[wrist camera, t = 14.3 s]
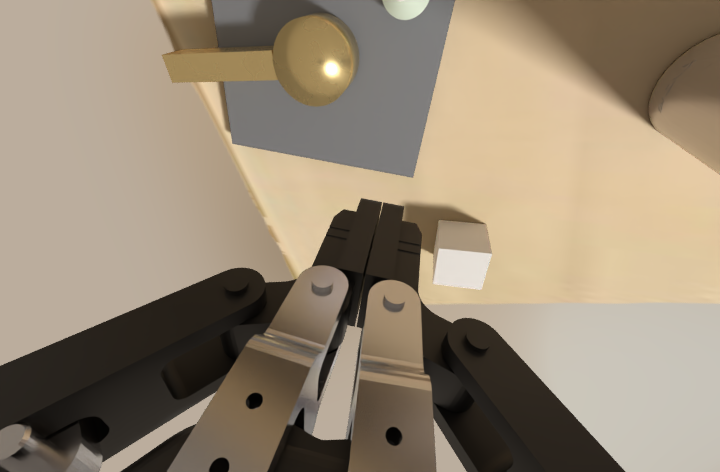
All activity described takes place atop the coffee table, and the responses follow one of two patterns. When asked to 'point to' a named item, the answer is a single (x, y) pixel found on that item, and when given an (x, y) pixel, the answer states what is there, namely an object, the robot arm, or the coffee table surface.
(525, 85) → the coffee table surface
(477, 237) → the beige cube
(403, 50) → the grey base plate
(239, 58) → the tan handled round piece
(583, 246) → the coffee table surface
